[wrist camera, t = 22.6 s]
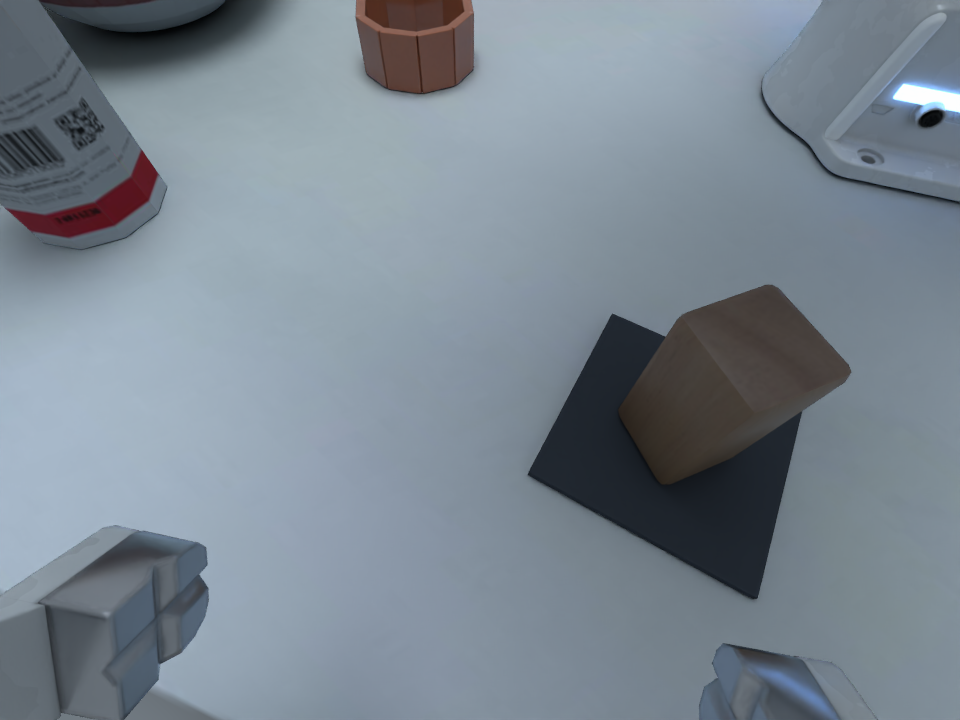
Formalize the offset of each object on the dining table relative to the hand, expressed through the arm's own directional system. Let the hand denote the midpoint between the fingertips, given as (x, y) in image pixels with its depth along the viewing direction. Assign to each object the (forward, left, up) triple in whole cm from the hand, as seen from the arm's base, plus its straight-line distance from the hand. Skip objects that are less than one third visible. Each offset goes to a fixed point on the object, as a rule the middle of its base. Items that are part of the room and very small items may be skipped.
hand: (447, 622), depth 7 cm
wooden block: (-4, -11, -12) cm, 17 cm away
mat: (-5, -11, -12) cm, 17 cm away
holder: (+23, -32, -12) cm, 42 cm away
